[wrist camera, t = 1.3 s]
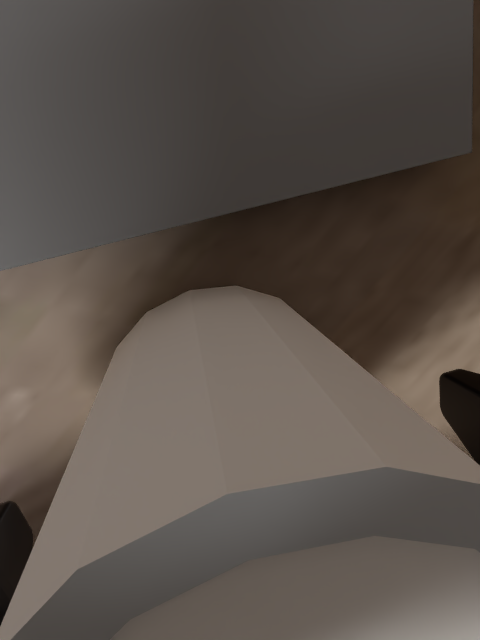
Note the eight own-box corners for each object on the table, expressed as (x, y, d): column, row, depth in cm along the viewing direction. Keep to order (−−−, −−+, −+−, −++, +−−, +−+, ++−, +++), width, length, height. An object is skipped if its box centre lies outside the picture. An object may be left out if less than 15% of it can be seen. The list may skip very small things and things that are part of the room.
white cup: (250, 194, 9) (450, 314, 3) (392, 396, 12) (652, 680, 6) (12, 383, 10) (-233, 806, 4) (199, 534, 13) (242, 924, 6)
